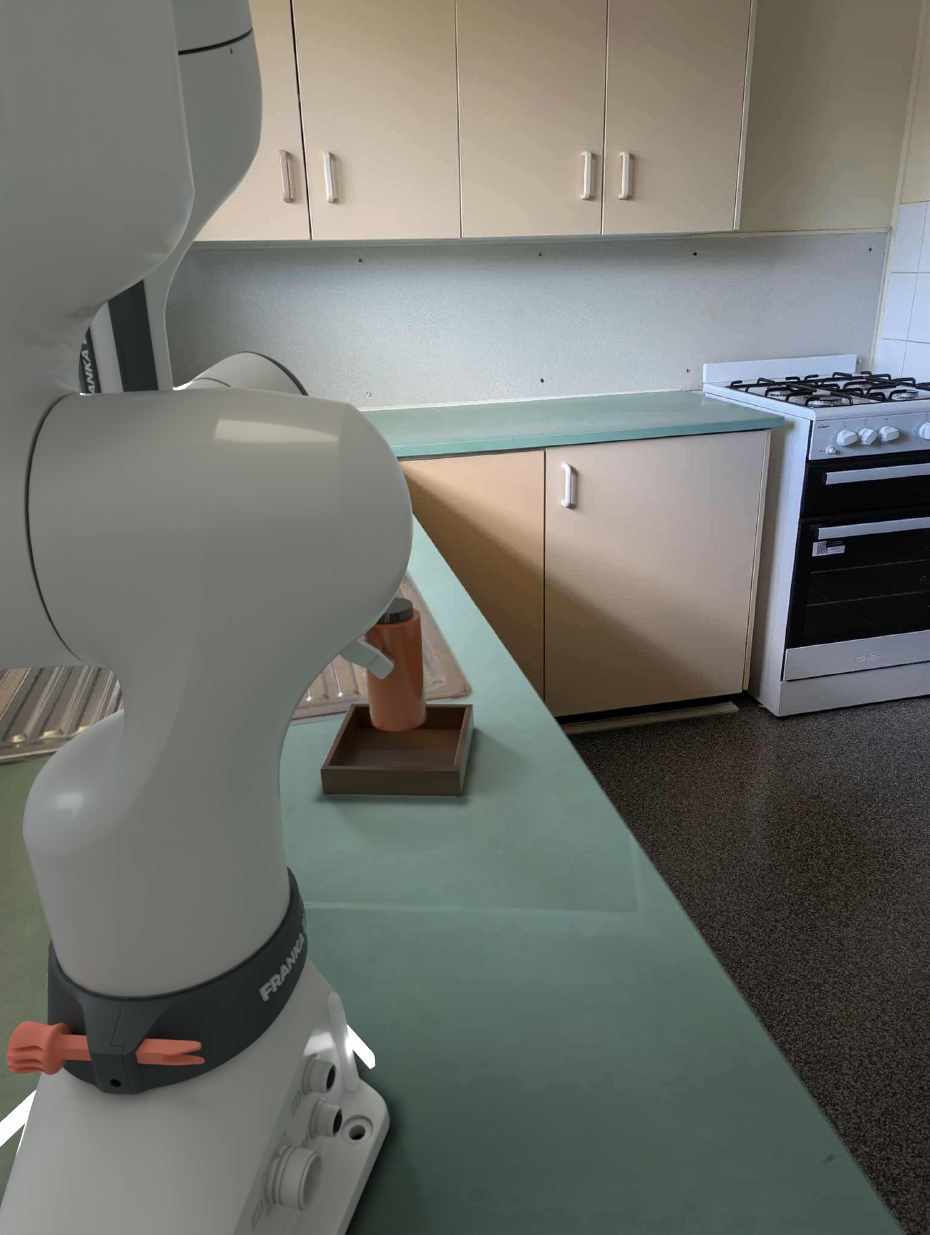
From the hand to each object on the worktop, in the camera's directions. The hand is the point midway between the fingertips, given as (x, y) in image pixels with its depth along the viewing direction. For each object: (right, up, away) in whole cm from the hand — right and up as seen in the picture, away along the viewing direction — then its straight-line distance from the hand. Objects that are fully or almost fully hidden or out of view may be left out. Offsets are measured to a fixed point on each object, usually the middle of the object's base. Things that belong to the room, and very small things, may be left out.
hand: (400, 655), depth 77 cm
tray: (0, -10, +4) cm, 11 cm away
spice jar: (0, -6, +2) cm, 6 cm away
